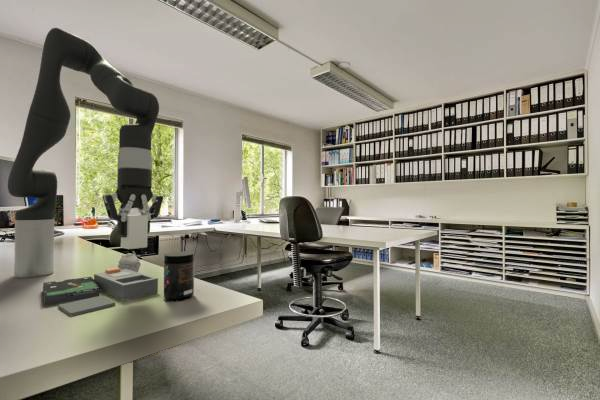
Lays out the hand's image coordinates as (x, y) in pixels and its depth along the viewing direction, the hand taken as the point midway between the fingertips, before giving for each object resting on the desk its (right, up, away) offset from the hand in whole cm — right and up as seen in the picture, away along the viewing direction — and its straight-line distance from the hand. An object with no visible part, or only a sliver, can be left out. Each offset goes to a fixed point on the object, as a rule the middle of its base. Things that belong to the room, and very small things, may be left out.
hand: (134, 235), depth 74 cm
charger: (0, -3, 0) cm, 3 cm away
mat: (-5, -14, -10) cm, 18 cm away
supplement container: (+13, -14, -3) cm, 20 cm away
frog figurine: (-11, -15, +17) cm, 25 cm away
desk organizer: (-6, -14, +5) cm, 16 cm away
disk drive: (-15, -15, -1) cm, 22 cm away
